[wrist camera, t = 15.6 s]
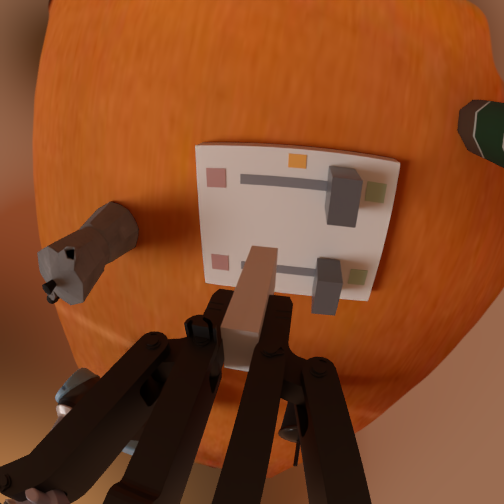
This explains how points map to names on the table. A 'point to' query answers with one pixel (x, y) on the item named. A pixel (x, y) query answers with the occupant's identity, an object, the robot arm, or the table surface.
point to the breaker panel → (290, 213)
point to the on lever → (326, 286)
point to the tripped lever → (342, 196)
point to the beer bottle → (483, 129)
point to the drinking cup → (290, 429)
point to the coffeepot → (86, 253)
